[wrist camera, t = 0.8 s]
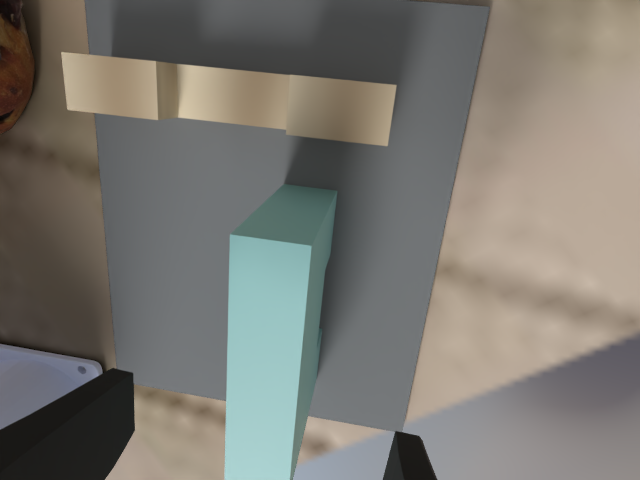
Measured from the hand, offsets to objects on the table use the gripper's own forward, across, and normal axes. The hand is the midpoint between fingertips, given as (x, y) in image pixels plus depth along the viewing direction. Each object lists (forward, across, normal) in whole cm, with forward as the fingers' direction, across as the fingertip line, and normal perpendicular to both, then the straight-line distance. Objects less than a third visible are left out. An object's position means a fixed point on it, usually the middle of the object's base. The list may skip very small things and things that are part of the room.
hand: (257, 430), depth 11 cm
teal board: (+10, +1, +1) cm, 10 cm away
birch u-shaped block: (+10, +4, -8) cm, 13 cm away
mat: (+10, +3, -2) cm, 10 cm away
